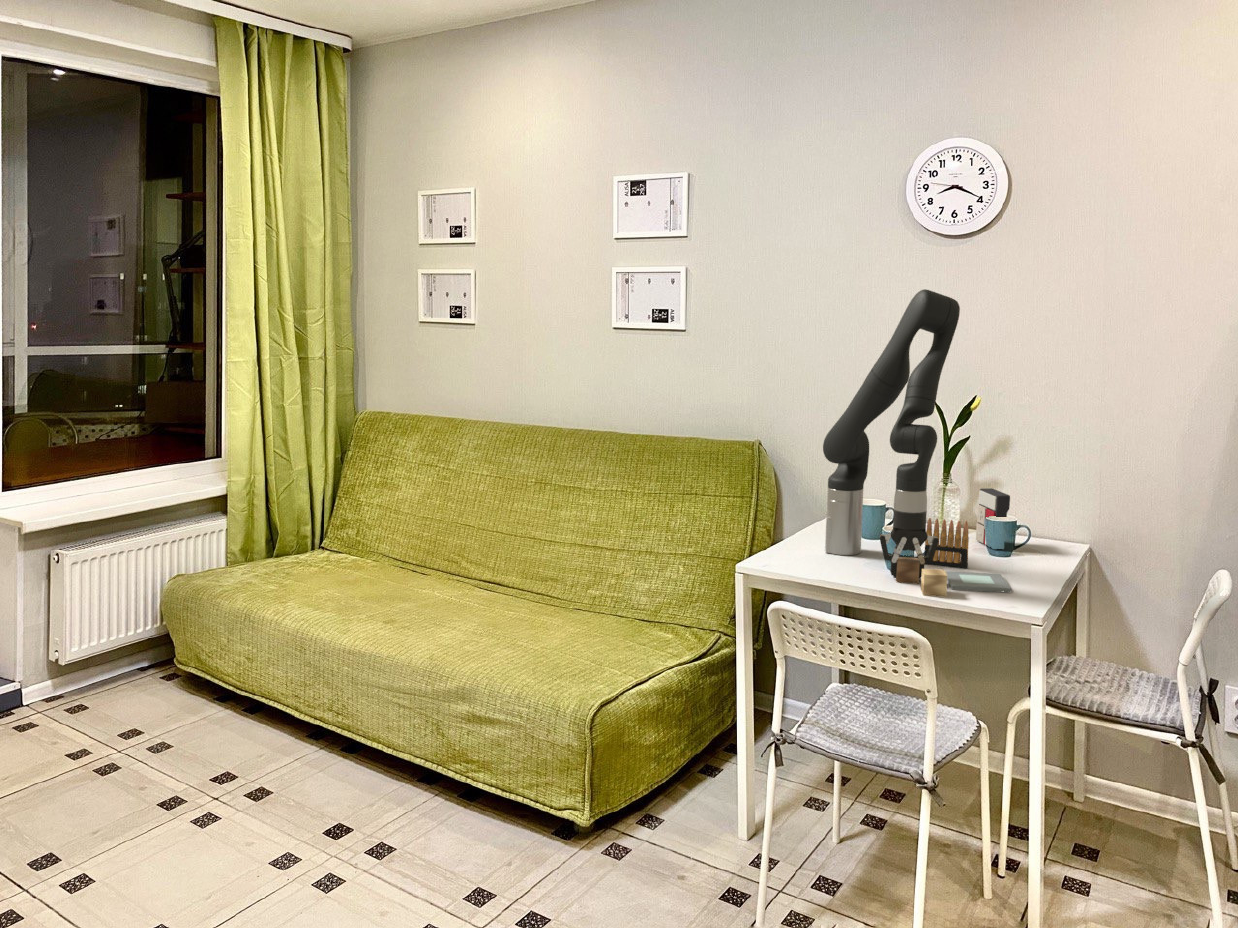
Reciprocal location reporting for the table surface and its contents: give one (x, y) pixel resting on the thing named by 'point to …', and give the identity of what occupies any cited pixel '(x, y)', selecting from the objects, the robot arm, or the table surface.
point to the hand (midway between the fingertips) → (906, 577)
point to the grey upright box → (990, 509)
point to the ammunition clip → (949, 545)
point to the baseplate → (977, 581)
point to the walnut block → (907, 570)
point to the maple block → (933, 582)
